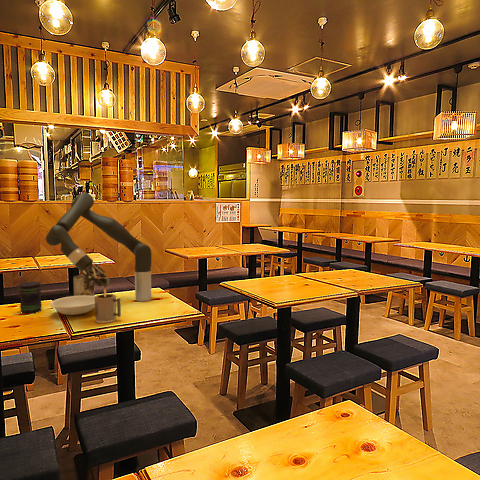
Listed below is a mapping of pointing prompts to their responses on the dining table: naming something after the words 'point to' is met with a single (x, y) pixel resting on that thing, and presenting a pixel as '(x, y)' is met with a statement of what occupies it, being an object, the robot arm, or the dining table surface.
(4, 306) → the dining table surface
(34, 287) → the storage jar
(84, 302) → the soup bowl
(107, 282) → the plunger
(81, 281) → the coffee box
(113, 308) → the brown mug
